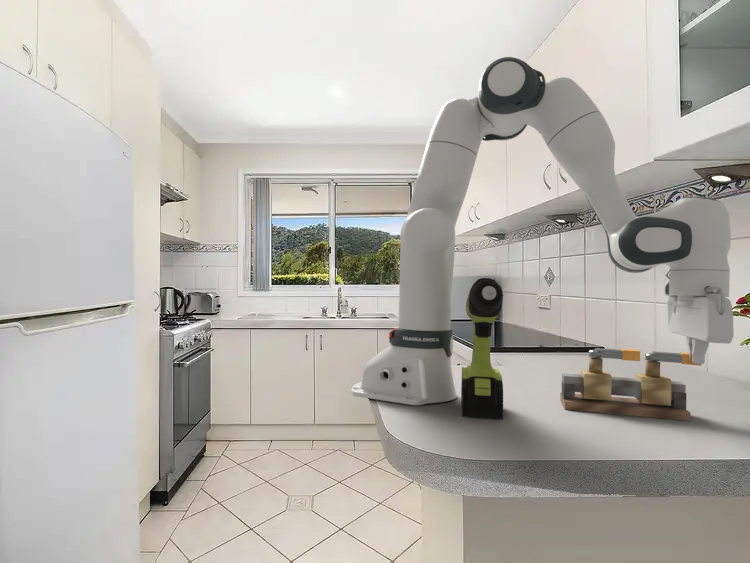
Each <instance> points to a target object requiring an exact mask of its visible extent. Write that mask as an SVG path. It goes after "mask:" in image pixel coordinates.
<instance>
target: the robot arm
mask: <svg viewBox="0 0 750 563" xmlns="http://www.w3.org/2000/svg"><path fill="white" fill-rule="evenodd" d="M477 93H478V96H476V97H474V98H472V99H471V98H470V99H466V98H453V99H450V100H448V101H447V102H445V104H444V105H442V106H441V109H440V111H439V113H438V114H437V116H436V119H435V121H434V123H433V125H432V128H431V130H430V133H429V136H428V140H427V143H426V146H425V149H424V152H423V156H422V159H421V164H420V165H419V166H420V167H419V171H418V173H417V174H418V175H417V178H416V180H415V183H414V184H415V185H414V188H413V191H412V195H411V200H410V204H409V208H408V211H407V216H406V219H405V220H404V222H402V226H401V229H400V234H399V235H400V241H399V242H400V243H399V244H400V249H399V251H400V252H399V293H398V294H399V301H398V327H395V328H393V329H392V330H391V331H389V333H388V340H389V343H390V344H389V345H388V346H387V347H386V348H384V349H383V350H381V351H380V352H378V354H376V355H374V356H373V357H372V358H371V359H370V360H368V361H367V362H366V364H365V366H364V369H363V370H362V371H363V372H362V376H361V381H360V382H357V383H355V384H354V385H353V386H352V387H351V391H350V394H351V396H353V397H359V398H363V399H364V398H365V399H371V400H378V401H384V402H390V403H397V404H403V405H410V406H423V405H427V404H436V403H445V402H450V401H452V400H455V399H456V398H457V397H458V394H457V391H456V387H455V386H456V385H455V382H454V376H453V375H454V374H453V369H452V367H453V365H452V356H453V350H454V336H453V329H451V323H452V322H451V321H452V320H451V318H452V314H451V313H452V288H453V277H454V266H455V265H454V264H455V250H456V249H455V248H456V225H457V221H458V219H459V216H460V213H461V209H462V206H463V204H464V201H465V199H466V198H465V197H466V195H467V192H468V188H469V185H470V182H471V178H472V175H473V171H474V168H475V165H476V164H475V163H476V162H477V157H478V154H479V150H480V146H481V143H482V141H485V142H489V141H509V140H512V139H515V138H516V137H519V136H520V135H521V133H523V132H524V131H525V129H526V128H527V127H528V126H530V127H531V128H533V129H535V130H536V131H537V132H538V134H540V136H541V137H542V138H543V140H544V142H545V145H546V146H547V147H548V149H549V151H550V153H551V154H552V156H553V157H554V158H555V160H556V161H557V162H558V163H559V165H560V166H561V167H562V169H563V170H564V171H565V173H567V174H568V176H569V177H570V178H571V180H573V181H574V183H575V184H576V185H577V187H578V188H579V189H580V190H581V192H582V193H583V194H584V196H585V198H586V200H587V201H588V203H589V204H590V206H591V208H592V210H593V211H594V214H595V215H596V216H597V218H598V220H599V222H600V224H601V226H602V227H603V229H604V231H605V234H606V238H607V239H606V240H607V251H608V256H609V258H610V261H611V262H612V264H614V266H615V267H617V268H618V269H620V270H621V271H624V272H627V273H632V274H638V273H644V272H647V271H649V270H651V269H653V268H655V267H657V266H660V265H667V266H668V267H669V279H668V282H667V283H666V284H665V287H664V296H666V297H668V298H667V301H666V302H667V325H668V329H669V331H670V332H671V333H672V334H677V335H680V336H684V337H686V342H685V343H686V346H687V349H688V353H689V361H690V362H693V363H695V364H702V365H704V364H705V361H706V354H707V351H708V349H709V345H710V344H711V343H712V344H727V345H728V344H731V343H732V341H733V339H734V335H735V334H734V312H733V305H732V301H731V300H730V299H729V297H730V282H731V281H730V280H731V278H730V275H731V273H730V272H731V269H730V264H729V262H728V255H729V252H730V250H731V241H732V239H731V222H730V215H729V214H730V213H729V211H728V208H727V206H726V205H725V203H723V202H722V201H719V200H717V199H715V198H709V197H702V196H694V197H693V196H686V197H683V198H679V199H678V200H677V201H676V202H674V203H671V204H670V205H669V206H666V207H665V208H662V209H660V210H657V211H656V212H653V213H650V214H646V215H643V216H640V217H639V216H638V217H637V215H636V214H635V212H634V210H633V208H632V207H631V205H630V203H629V202H628V200H627V198H626V196H625V195H624V193H623V192H622V189H621V188H620V186H619V183H618V181H617V177H616V173H615V172H616V171H615V152H616V143H615V142H616V141H615V140H614V139H615V138H614V136H613V133H612V131H611V128H610V126H609V124H608V122H607V120H606V118H605V117H604V115H603V113H602V112H601V111H600V109H599V108H598V106H597V105H596V103H595V102H594V101H593V99H592V98H591V97H590V96H589V95H588V94H587V93H586V91H585V90H584V89H583V88H582V87H581V86H580V85H579V84H577V82H576V81H574V80H573V79H572V78H569V77H565V76H563V77H556V78H554V79H551V80H550V81H548V82H546V78H545V75H544V74H543V73H542V72H541V71H539V70H537V69H535V68H534V67H531V66H530V65H529V64H528V63H527V62H526V61H524V60H522V59H520V58H517V57H512V56H506V57H505V56H504V57H500V58H498V59H495V60H494V61H493V62H491V63H490V64H489V65H488V66H487V67H486V68H485V70H484V71H483V73H482V75H481V76H480V79H479V82H478V88H477ZM709 343H710V344H709Z"/></svg>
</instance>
